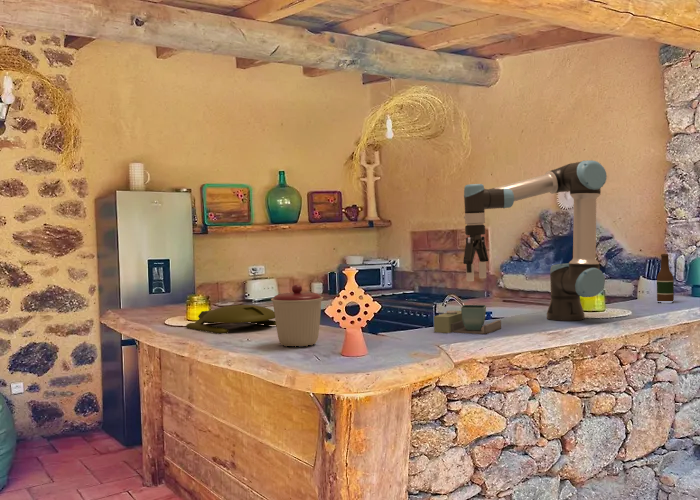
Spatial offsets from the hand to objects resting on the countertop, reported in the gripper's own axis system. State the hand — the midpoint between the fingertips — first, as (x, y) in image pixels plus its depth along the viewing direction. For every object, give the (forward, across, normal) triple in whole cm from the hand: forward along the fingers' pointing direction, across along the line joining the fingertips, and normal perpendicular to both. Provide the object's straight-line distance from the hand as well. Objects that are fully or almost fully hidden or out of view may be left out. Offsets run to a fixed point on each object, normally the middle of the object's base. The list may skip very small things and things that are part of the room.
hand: (476, 279), depth 269 cm
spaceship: (+19, +29, -95) cm, 101 cm away
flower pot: (+19, +5, 0) cm, 19 cm away
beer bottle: (+21, -117, +53) cm, 130 cm away
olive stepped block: (+19, +2, -10) cm, 22 cm away
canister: (+18, +57, -45) cm, 74 cm away
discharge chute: (+19, +2, 0) cm, 19 cm away
